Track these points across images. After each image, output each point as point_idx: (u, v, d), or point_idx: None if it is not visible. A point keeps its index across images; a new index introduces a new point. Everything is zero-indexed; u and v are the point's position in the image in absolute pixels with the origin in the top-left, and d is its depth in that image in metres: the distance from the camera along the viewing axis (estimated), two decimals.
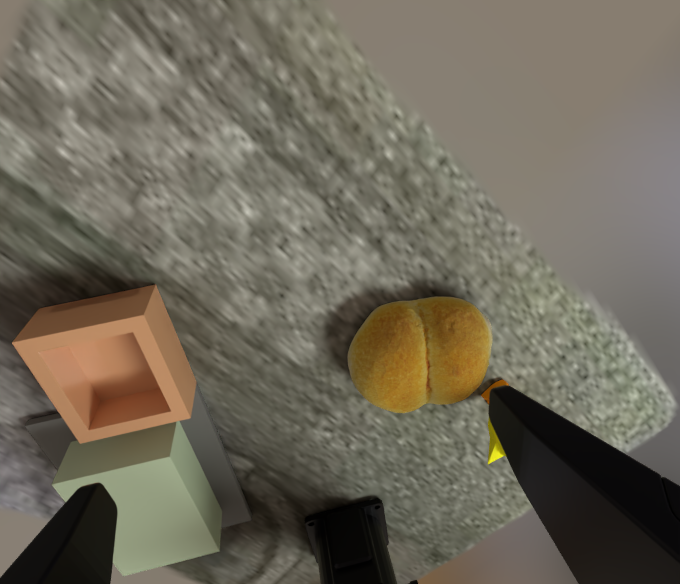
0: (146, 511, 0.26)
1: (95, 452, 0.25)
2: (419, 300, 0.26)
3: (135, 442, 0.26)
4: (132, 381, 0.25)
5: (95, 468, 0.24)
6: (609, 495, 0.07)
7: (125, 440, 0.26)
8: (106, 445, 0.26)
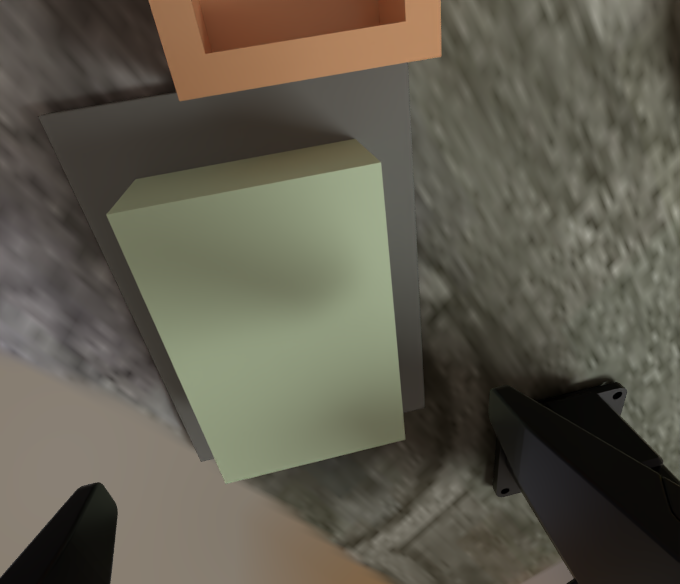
0: (298, 325, 0.12)
1: (196, 179, 0.11)
2: None
3: (282, 163, 0.12)
4: None
5: (207, 190, 0.10)
6: (609, 495, 0.07)
7: (256, 164, 0.12)
8: (217, 172, 0.12)
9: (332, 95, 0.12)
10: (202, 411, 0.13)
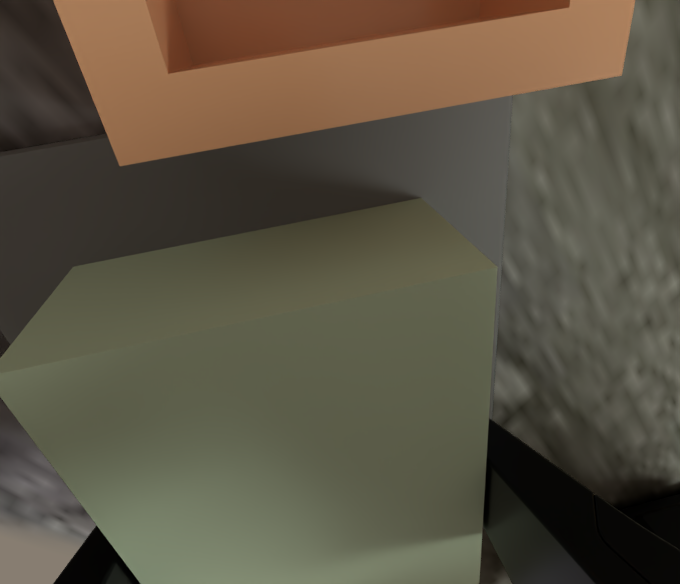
0: (334, 505, 0.08)
1: (166, 280, 0.07)
2: None
3: (311, 249, 0.07)
4: None
5: (180, 317, 0.06)
6: (539, 513, 0.07)
7: (267, 248, 0.07)
8: (203, 263, 0.07)
9: (390, 133, 0.08)
10: None
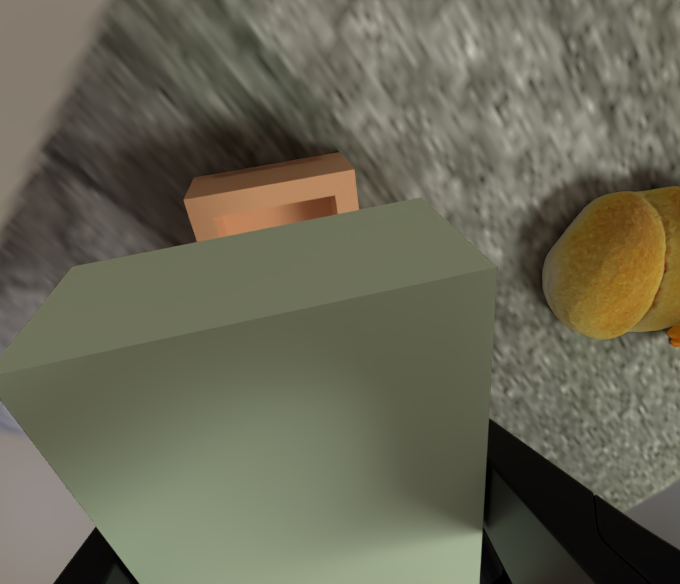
0: (334, 506, 0.08)
1: (165, 280, 0.07)
2: (646, 191, 0.21)
3: (311, 249, 0.07)
4: None
5: (180, 317, 0.06)
6: (540, 513, 0.07)
7: (267, 248, 0.07)
8: (202, 263, 0.07)
9: None
10: None
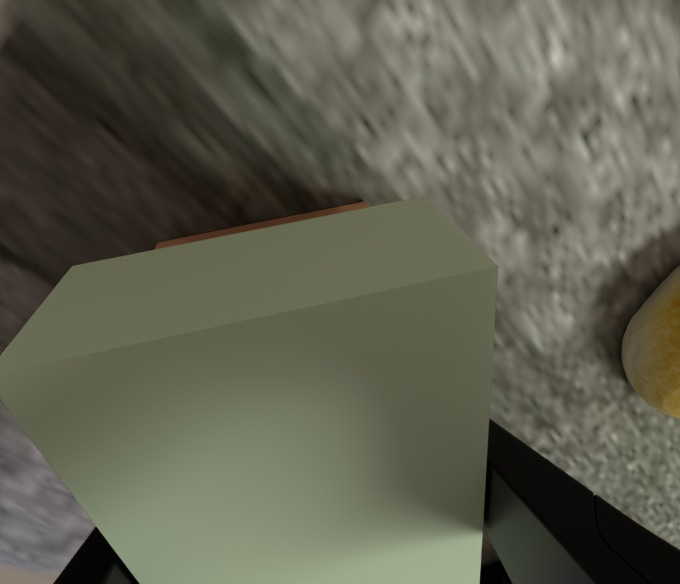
0: (334, 504, 0.08)
1: (165, 279, 0.07)
2: None
3: (311, 248, 0.07)
4: None
5: (180, 316, 0.06)
6: (539, 514, 0.07)
7: (267, 247, 0.07)
8: (202, 262, 0.07)
9: None
10: None
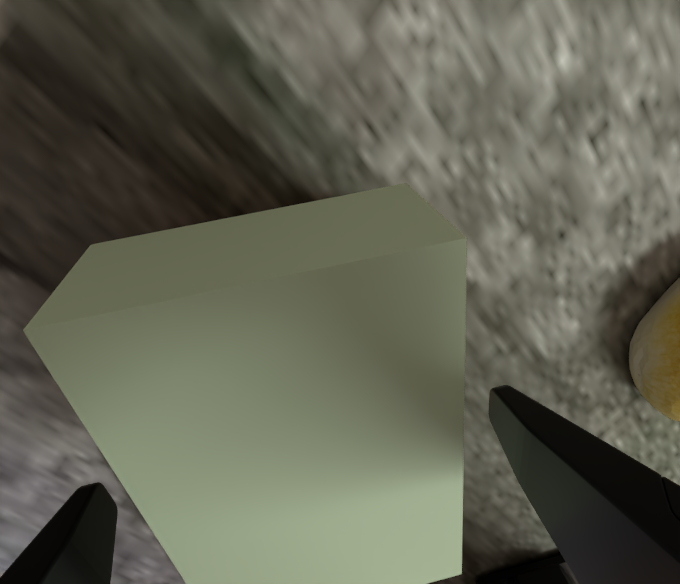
0: (327, 459, 0.08)
1: (176, 254, 0.08)
2: None
3: (305, 226, 0.08)
4: None
5: (191, 282, 0.07)
6: (609, 495, 0.07)
7: (266, 226, 0.08)
8: (208, 239, 0.08)
9: None
10: (188, 567, 0.09)
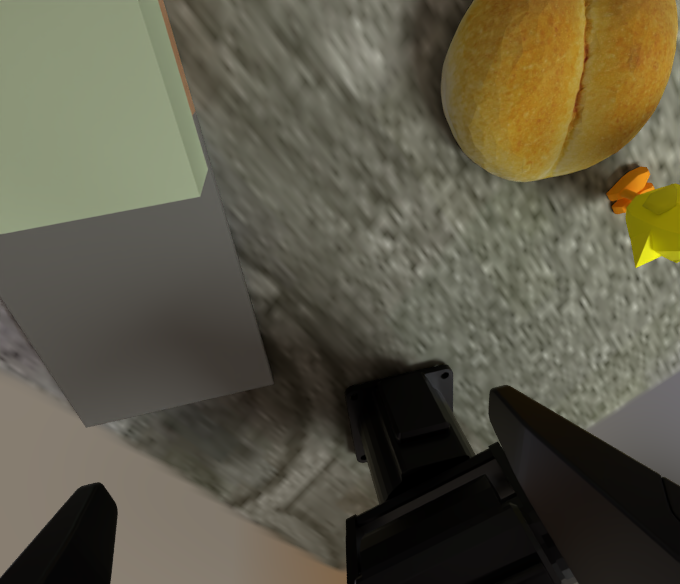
0: None
1: None
2: None
3: None
4: None
5: None
6: (609, 495, 0.07)
7: None
8: None
9: None
10: None
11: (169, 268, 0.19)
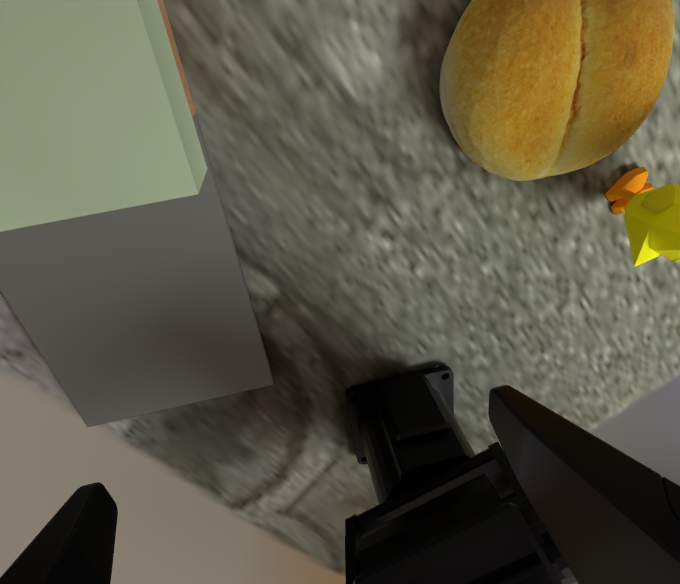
0: None
1: None
2: None
3: None
4: None
5: None
6: (609, 495, 0.07)
7: None
8: None
9: None
10: None
11: (170, 268, 0.19)
